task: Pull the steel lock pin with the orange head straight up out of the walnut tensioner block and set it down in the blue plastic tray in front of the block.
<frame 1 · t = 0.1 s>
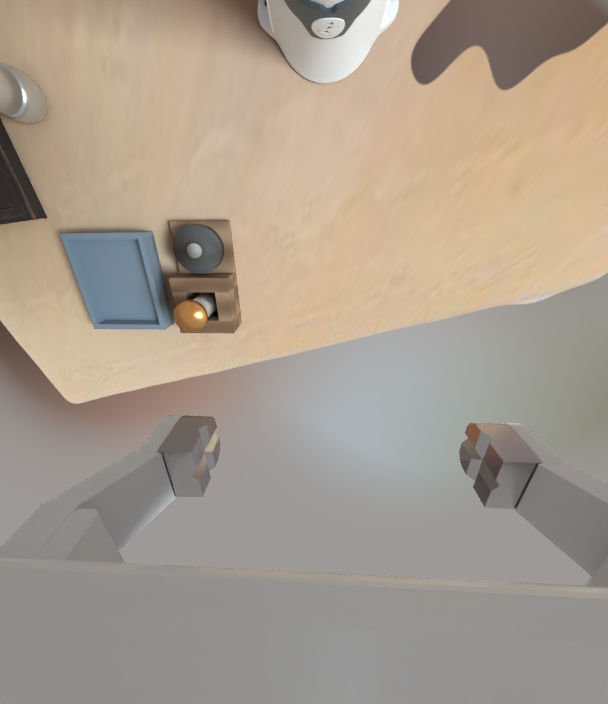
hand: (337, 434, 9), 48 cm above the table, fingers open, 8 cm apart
lock pin: (202, 306, 52), in the tensioner
tensioner: (213, 298, 57), on the table
tray: (127, 280, 56), on the table
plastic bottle: (33, 101, 44), on the table
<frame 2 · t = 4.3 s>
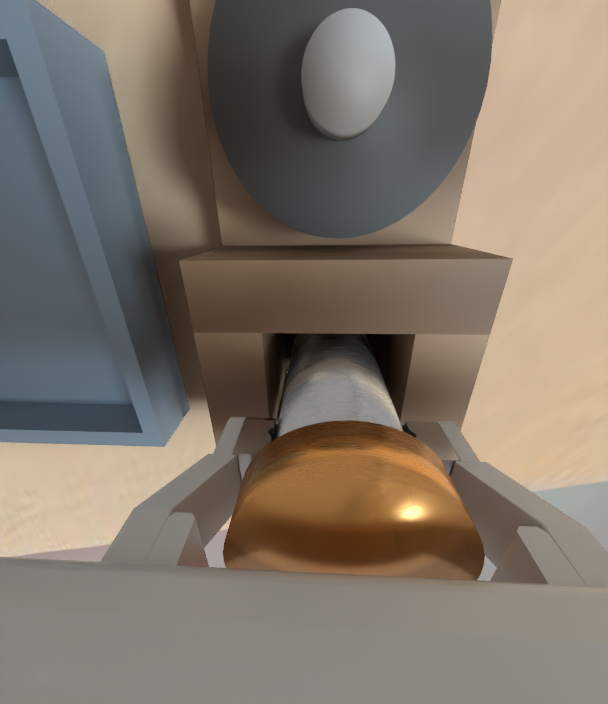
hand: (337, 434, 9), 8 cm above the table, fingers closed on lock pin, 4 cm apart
lock pin: (334, 396, 11), in the tensioner, touching gripper
tensioner: (329, 336, 16), on the table
tray: (27, 276, 16), on the table
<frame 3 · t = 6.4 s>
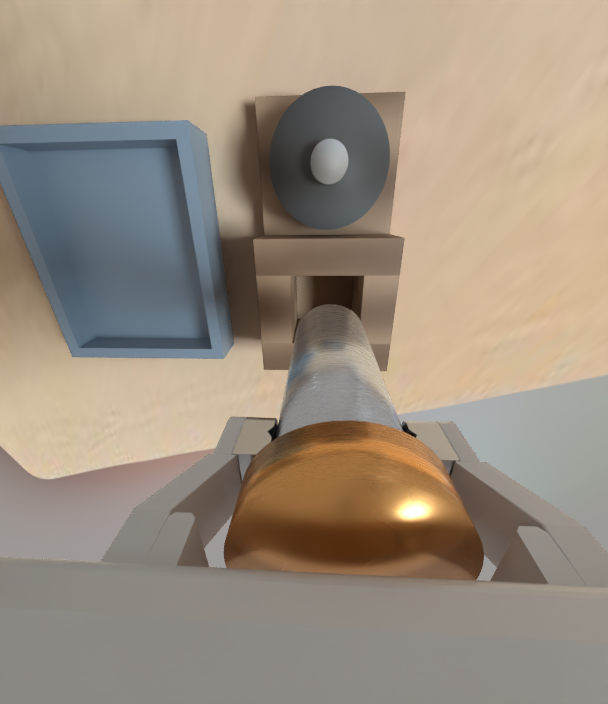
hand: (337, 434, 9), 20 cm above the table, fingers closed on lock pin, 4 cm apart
lock pin: (334, 396, 11), point 18 cm above the table, touching gripper
tensioner: (324, 292, 27), on the table
tray: (143, 255, 26), on the table
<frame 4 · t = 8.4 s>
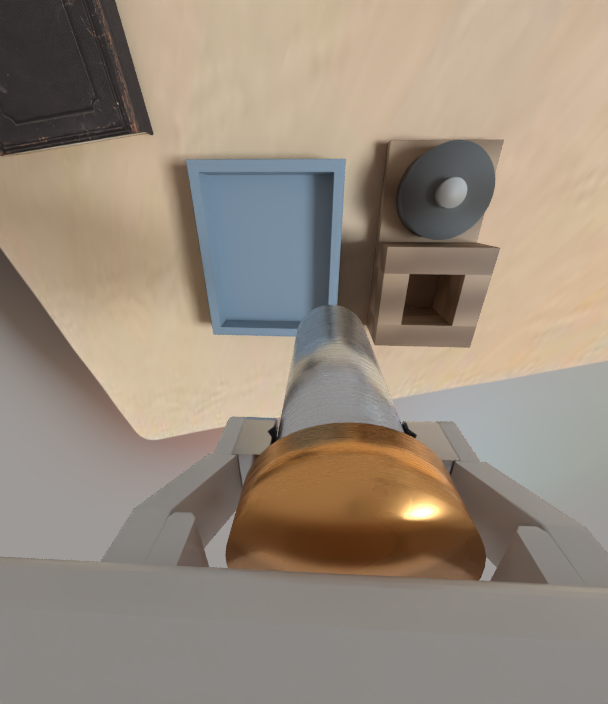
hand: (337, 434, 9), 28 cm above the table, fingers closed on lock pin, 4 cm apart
lock pin: (335, 397, 11), point 26 cm above the table, touching gripper
tensioner: (414, 286, 34), on the table
tray: (274, 254, 33), on the table
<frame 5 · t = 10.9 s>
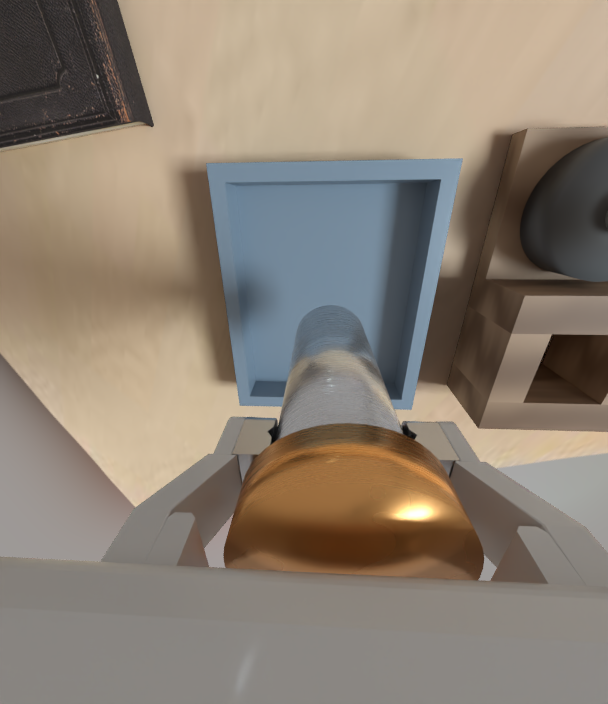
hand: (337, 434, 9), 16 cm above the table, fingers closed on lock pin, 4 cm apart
lock pin: (334, 398, 11), point 14 cm above the table, touching gripper
tensioner: (521, 336, 24), on the table
tray: (326, 295, 24), on the table
when the fingers open (11 cm above the table, at t = 12.9 s): lock pin moves 3 cm, resting on tray.
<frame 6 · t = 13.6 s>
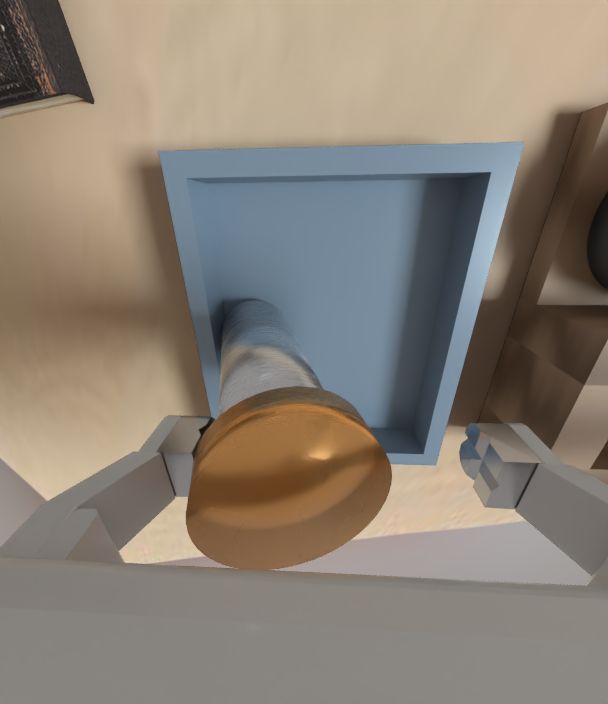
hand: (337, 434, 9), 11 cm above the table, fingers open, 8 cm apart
lock pin: (267, 381, 12), in the tray, point 7 cm above the table, tilted 16°, touching gripper
tensioner: (572, 371, 19), on the table
tray: (327, 322, 19), on the table
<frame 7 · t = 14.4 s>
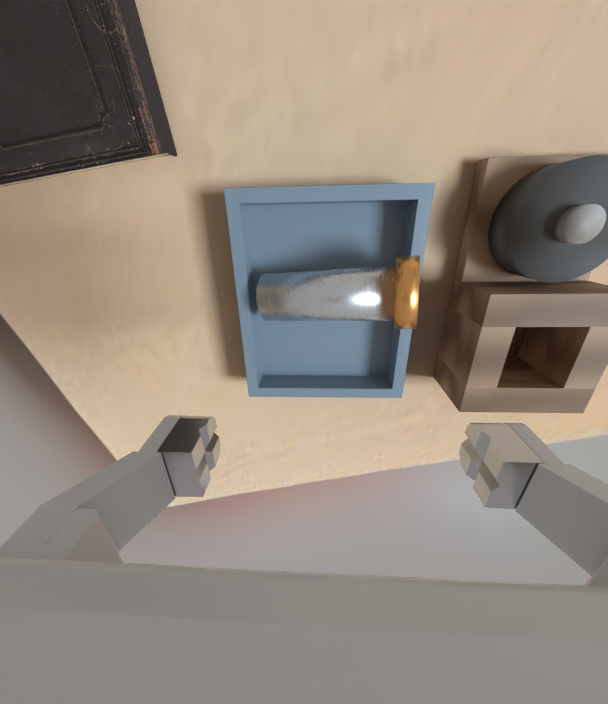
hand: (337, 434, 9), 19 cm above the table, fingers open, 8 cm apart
lock pin: (335, 295, 22), in the tray, tilted 74°
tensioner: (497, 331, 28), on the table
tray: (324, 297, 27), on the table
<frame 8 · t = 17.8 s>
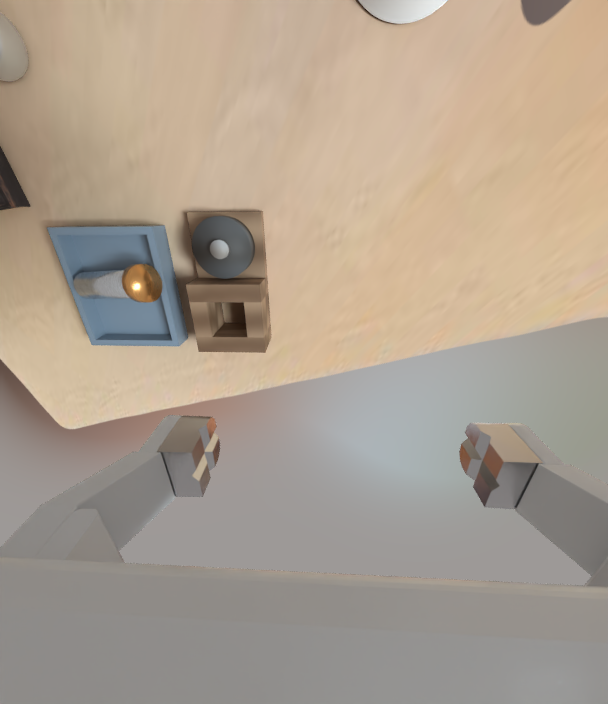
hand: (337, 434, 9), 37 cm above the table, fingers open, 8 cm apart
lock pin: (116, 284, 41), in the tray, tilted 74°
tensioner: (238, 307, 46), on the table
tray: (132, 286, 46), on the table
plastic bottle: (11, 53, 34), on the table
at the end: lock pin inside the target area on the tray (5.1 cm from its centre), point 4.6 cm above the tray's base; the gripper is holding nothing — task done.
